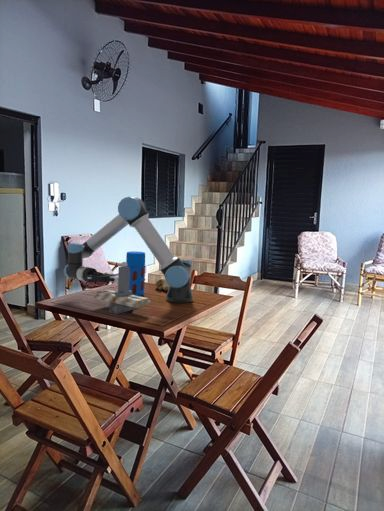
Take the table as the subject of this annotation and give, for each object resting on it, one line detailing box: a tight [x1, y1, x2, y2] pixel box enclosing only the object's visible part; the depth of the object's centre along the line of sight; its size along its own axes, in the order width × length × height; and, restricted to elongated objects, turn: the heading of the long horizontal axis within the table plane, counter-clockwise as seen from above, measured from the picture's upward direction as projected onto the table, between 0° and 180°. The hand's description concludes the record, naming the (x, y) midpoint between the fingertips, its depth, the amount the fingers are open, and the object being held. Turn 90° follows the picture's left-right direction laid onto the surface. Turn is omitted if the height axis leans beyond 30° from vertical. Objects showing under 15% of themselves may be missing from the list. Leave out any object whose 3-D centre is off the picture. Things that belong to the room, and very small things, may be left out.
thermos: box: [125, 250, 146, 297], centre depth 216 cm, size 11×11×25 cm
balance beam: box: [93, 289, 151, 315], centre depth 181 cm, size 28×12×8 cm, turn 57°
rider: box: [115, 261, 132, 297], centre depth 179 cm, size 4×8×18 cm, turn 147°
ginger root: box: [154, 278, 170, 291], centre depth 236 cm, size 16×16×8 cm
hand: (120, 280), depth 180 cm, fingers closed
